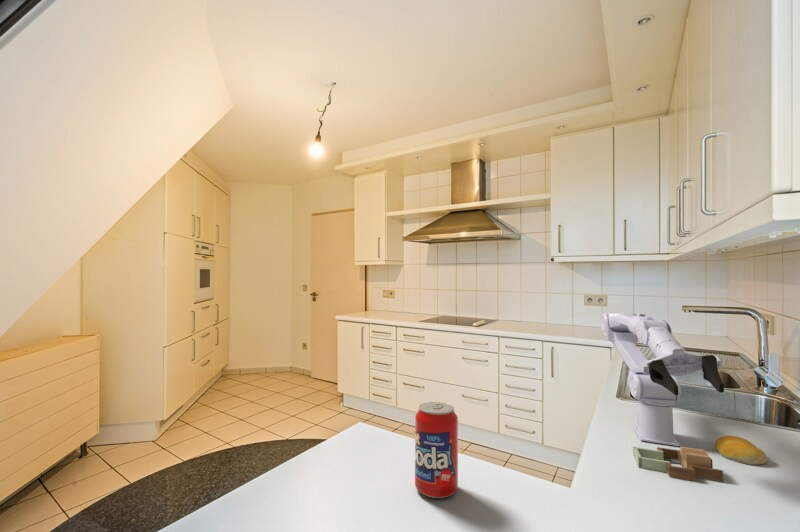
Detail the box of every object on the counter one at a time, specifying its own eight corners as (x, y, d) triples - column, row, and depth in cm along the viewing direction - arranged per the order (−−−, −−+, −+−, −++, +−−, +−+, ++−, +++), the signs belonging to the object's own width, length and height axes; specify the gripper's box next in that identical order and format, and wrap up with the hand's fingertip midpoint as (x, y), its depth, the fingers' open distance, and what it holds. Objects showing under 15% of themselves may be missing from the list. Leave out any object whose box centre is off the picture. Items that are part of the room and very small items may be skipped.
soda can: (464, 486, 69) (464, 404, 70) (447, 507, 63) (447, 416, 64) (426, 475, 73) (427, 398, 74) (407, 494, 67) (407, 408, 68)
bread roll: (726, 463, 81) (725, 444, 81) (710, 447, 89) (709, 429, 89) (776, 470, 77) (775, 450, 78) (754, 452, 86) (753, 435, 86)
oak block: (681, 465, 79) (680, 446, 79) (704, 469, 77) (703, 449, 77) (686, 474, 75) (686, 454, 75) (711, 478, 73) (710, 457, 74)
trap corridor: (631, 452, 85) (631, 443, 85) (708, 464, 79) (707, 454, 79) (640, 471, 76) (640, 461, 76) (727, 486, 70) (726, 476, 70)
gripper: (632, 340, 87) (656, 375, 75) (705, 332, 83) (743, 369, 70) (634, 365, 89) (657, 404, 77) (705, 359, 85) (742, 399, 73)
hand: (698, 389), depth 74 cm, fingers open, 7 cm apart
